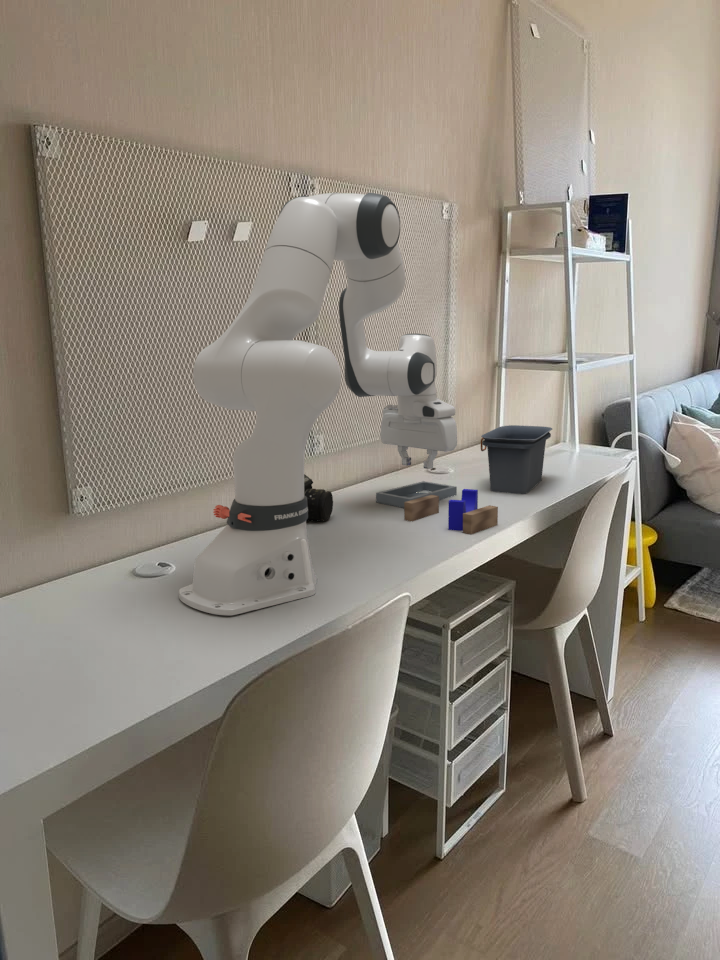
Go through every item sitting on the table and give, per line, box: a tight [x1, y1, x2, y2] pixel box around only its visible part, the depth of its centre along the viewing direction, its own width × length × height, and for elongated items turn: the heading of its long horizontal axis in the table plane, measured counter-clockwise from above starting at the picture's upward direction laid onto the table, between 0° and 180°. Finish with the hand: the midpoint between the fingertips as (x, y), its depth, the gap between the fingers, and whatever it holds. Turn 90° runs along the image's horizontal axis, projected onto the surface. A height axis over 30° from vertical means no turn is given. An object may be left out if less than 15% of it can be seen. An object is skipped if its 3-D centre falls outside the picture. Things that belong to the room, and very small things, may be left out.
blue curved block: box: [447, 488, 479, 532], centre depth 154 cm, size 12×4×6 cm, turn 158°
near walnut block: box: [462, 504, 499, 535], centre depth 149 cm, size 9×2×4 cm, turn 136°
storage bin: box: [480, 424, 553, 495], centre depth 184 cm, size 21×16×14 cm
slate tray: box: [375, 480, 458, 509], centre depth 174 cm, size 17×10×2 cm, turn 136°
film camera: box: [304, 473, 334, 523], centre depth 158 cm, size 18×12×10 cm
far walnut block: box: [403, 495, 440, 522], centre depth 159 cm, size 9×2×4 cm, turn 136°
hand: (417, 466), depth 173 cm, fingers open, 5 cm apart
